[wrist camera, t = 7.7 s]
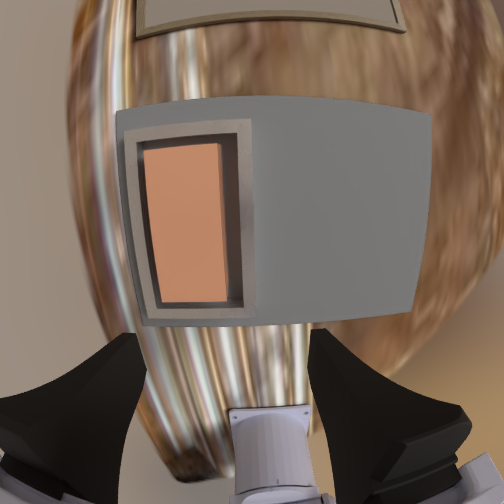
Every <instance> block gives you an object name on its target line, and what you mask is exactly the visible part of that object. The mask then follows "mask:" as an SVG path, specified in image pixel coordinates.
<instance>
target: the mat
mask: <svg viewBox="0 0 504 504" xmlns="http://www.w3.org/2000/svg"><path fill="white" fill-rule="evenodd" d="M228 119H251V132H252V168H253V205H254V243H255V284H256V318H222V319H159V318H148V315H147V310H146V306H145V301H144V296H143V291H142V286H141V281H140V276H139V270H138V265H137V259H136V252H135V246H134V239H133V232H132V225H131V217H130V209H129V199H128V189H127V178H126V164H125V146H124V131H128V130H134V129H140V128H147V127H154V126H161V125H169V124H178V123H188V122H199V121H212V120H228ZM116 126H117V152H118V168H119V181H120V192H121V201H122V210H123V218H124V226H125V233H126V240H127V246H128V252H129V258H130V264H131V269H132V275H133V280H134V285H135V290H136V294H137V299H138V304H139V308H140V312H141V317H142V321H143V325H144V326H160V327H234V326H263V325H283V324H299V323H313V322H325V321H337V320H347V319H356V318H366V317H374V316H382V315H390V314H397V313H404V312H411V309H412V305H413V300H414V296H415V292H416V287H417V282H418V277H419V272H420V267H421V261H422V255H423V249H424V242H425V235H426V228H427V219H428V210H429V199H430V185H431V161H432V130H431V115H430V114H426V113H422V112H417V111H412V110H407V109H402V108H397V107H392V106H386V105H380V104H373V103H366V102H359V101H350V100H341V99H331V98H318V97H301V96H232V97H215V98H202V99H191V100H182V101H174V102H166V103H159V104H152V105H146V106H140V107H135V108H129V109H124V110H119V111H116ZM215 143H218V144H220V145H222V163H223V185H224V205H225V223H226V240H227V256H228V272H229V285H228V295H227V298H231V297H243V276H242V252H241V227H240V201H239V172H238V141H237V135H217V136H202V137H190V138H179V139H170V140H161V141H153V142H146V143H145V150H152V149H160V148H169V147H179V146H189V145H201V144H215Z"/></svg>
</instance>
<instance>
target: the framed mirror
mask: <svg viewBox="0 0 504 504" xmlns="http://www.w3.org/2000/svg"><path fill="white" fill-rule="evenodd" d="M275 19H292V20H317V21H330V22H340V23H349V24H356V25H363V26H369V27H375V28H381V29H386V30H391V31H395V32H400V33H405V32H407V29H406V25H405V21H404V18H403V14H402V11H401V7H400V4H399V1H398V0H137V12H136V37H137V38H138V39H141V38H145V37H149V36H153V35H157V34H161V33H166V32H170V31H175V30H180V29H185V28H191V27H196V26H203V25H210V24H217V23H226V22H236V21H249V20H275Z"/></svg>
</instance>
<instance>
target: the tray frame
mask: <svg viewBox="0 0 504 504" xmlns="http://www.w3.org/2000/svg"><path fill="white" fill-rule="evenodd" d="M217 135H237V141H238V172H239V201H240V227H241V252H242V276H243V297H231V298H227V301H220V302H162V298H161V293H160V287H159V281H158V275H157V269H156V263H155V256H154V249H153V242H152V235H151V227H150V218H149V209H148V200H147V189H146V177H145V164H144V151H145V143H146V142H153V141H161V140H170V139H179V138H190V137H202V136H217ZM124 146H125V164H126V178H127V189H128V199H129V209H130V217H131V225H132V232H133V239H134V246H135V252H136V259H137V265H138V270H139V276H140V281H141V286H142V291H143V296H144V301H145V306H146V310H147V315H148V318H159V319H222V318H256V284H255V243H254V205H253V168H252V132H251V119H228V120H212V121H199V122H188V123H178V124H169V125H161V126H154V127H147V128H140V129H134V130H128V131H124Z"/></svg>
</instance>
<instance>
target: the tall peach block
mask: <svg viewBox="0 0 504 504" xmlns="http://www.w3.org/2000/svg"><path fill="white" fill-rule="evenodd" d="M144 164H145V177H146V189H147V200H148V209H149V218H150V227H151V235H152V242H153V249H154V256H155V263H156V269H157V275H158V281H159V287H160V293H161V298H162V302H220V301H227V295H228V285H229V272H228V256H227V240H226V223H225V205H224V185H223V163H222V145H220V144H218V143H215V144H201V145H189V146H179V147H169V148H160V149H152V150H145V151H144Z"/></svg>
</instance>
